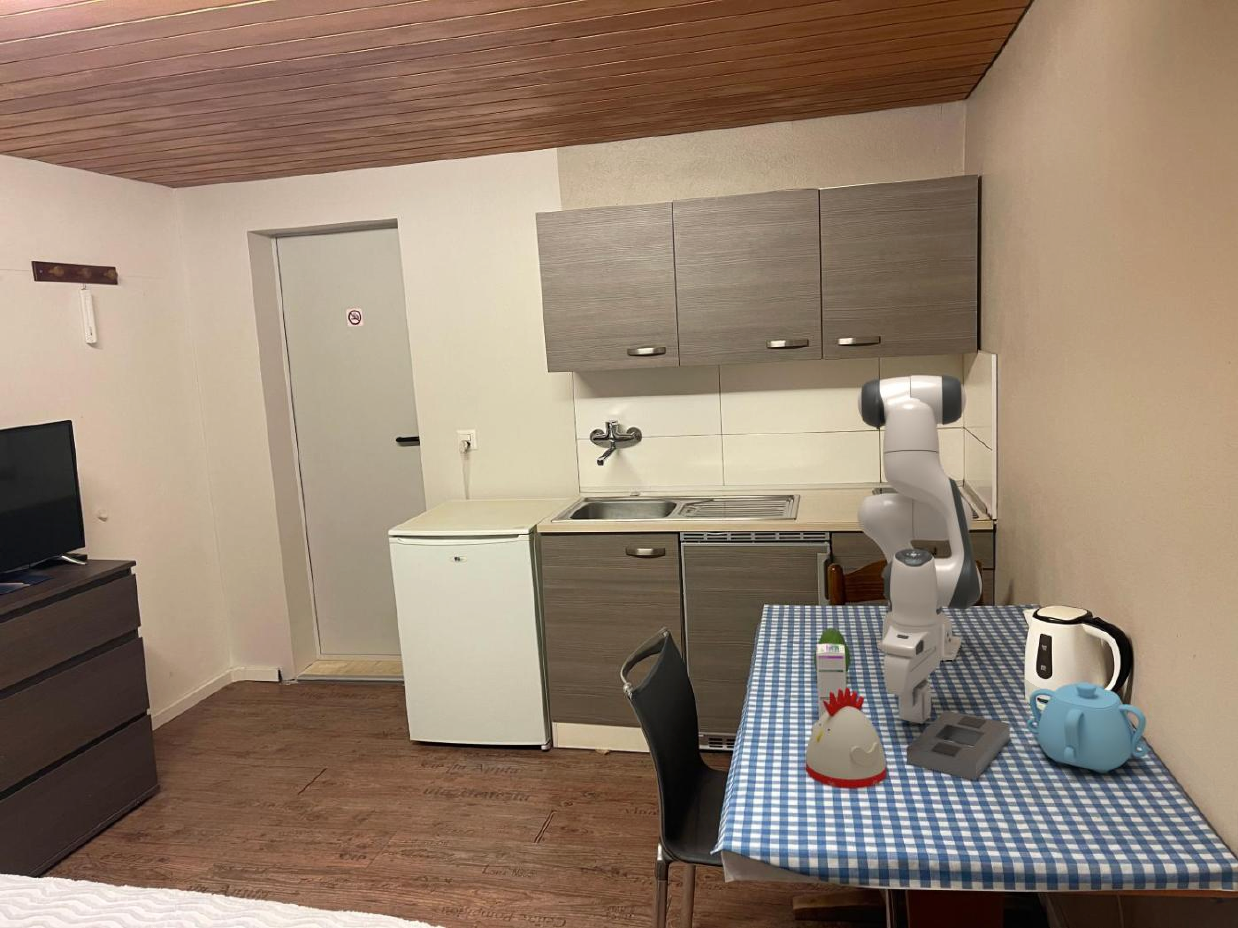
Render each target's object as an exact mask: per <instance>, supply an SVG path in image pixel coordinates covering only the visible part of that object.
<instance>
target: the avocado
mask: <svg viewBox="0 0 1238 928" xmlns="http://www.w3.org/2000/svg"><path fill="white" fill-rule="evenodd" d="M817 644H843V645H844V647H845V660H846V674H847V673H848V672H849V669H850V665H851V654H850V649H849V647H848V645H847V642H846V640H845V637H844V636H843V634H842V633H841V632H840V631H839V630H837V629H835V628H831V627H830V628H827V629H825V630H824V631H823V632H822V634H821V636H820V638H819V639H818V642H817ZM816 648H817V646H816V647H815V650H814V654H813V655H814V656H813V664H814V668H815V670H816V672H817V659H816Z"/></svg>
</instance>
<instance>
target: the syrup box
mask: <svg viewBox="0 0 1238 928" xmlns="http://www.w3.org/2000/svg"><path fill="white" fill-rule="evenodd" d="M816 647H817V648H816ZM816 647H815V650H816V659H817V671H816V679H817V681H816V683H817V706H818V708H817V709H818V711H817V712H818V720H819V719H820V718H821V716H822V715H823V714H824V713H825V712H827V710H826V708H825V706H824V703H823V700H824V701H826V702H827V703H828V704H829V703H830V692H832V693H834V695H835V698H836V701H837V696H838V691H839V689H841V690H843V695H844V694H845V688H846V687H847V688H848V686H847V685H848V680H847V679H848V677H847V676H848V675H847V673H846V660H845V647H844V645H843V644H818V643H817V644H816Z"/></svg>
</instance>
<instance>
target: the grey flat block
mask: <svg viewBox="0 0 1238 928" xmlns="http://www.w3.org/2000/svg"><path fill="white" fill-rule="evenodd" d="M1010 728H1011V724H1010V722H1004V721H999V720H994V719H989V718H986V717H980V716H975V715H970V714H966V713H960V712H957V711H951V710H947V709H946V710H944V711H943V712H941V714H940V715H939V716H938V717H936V718H935V719H934V720H933V722H931V724H929V725H928V726H927V727H926V728H925V729H924V730H923V731H922V732H921V733H920V734H919V735H918V736H917V737H916V738H915V739H914V740H913V741H911V743H910V744H908V746H907V747H906V764H908V765H911V766H915V765H916V766H915V767H919V768H923V767H924V768H923V769H928V770H931V769H932V770H931V771H935V772H939V773H942V772H945V773H944V774H946V773H948V774H947V775H950V774H952V776H954V775H955V777H959V778H963V779H966V780H970V781H971V780H972V781H974V782H975V781H977V780H978V779H979V777H980V776H981V775H982V774H983V772H984V771H986V769H987V767H988V766H989V765H990V764H991V763H992V762H993V760H994V759H995V758H996V757H997V755H998V754H999V753H1000V752H1001V751H1002V749H1003V748H1004V747H1005V745H1006V744H1007V743H1008V742H1009V740H1010V739H1011V737H1010V736H1011V732H1010V731H1011V729H1010Z"/></svg>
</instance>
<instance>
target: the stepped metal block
mask: <svg viewBox="0 0 1238 928" xmlns="http://www.w3.org/2000/svg"><path fill="white" fill-rule="evenodd" d="M912 695H913V698H915V705H914V706H913V707H912V708H911V709H909V708H905V707H904V706H903V698H902V696H899V695H898V714H899V715H898V717H899V720H904V721H909V722H912V723H913V722H914V723H916V724H924V722H925V721H927V720H928V718H929V717H930V716H931V713H932V688H931V681H929V680H928V681H924V680H922V681H921V682H920V683H919V684H918V685H917V686H916V687H914V688H913V692H912Z"/></svg>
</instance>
